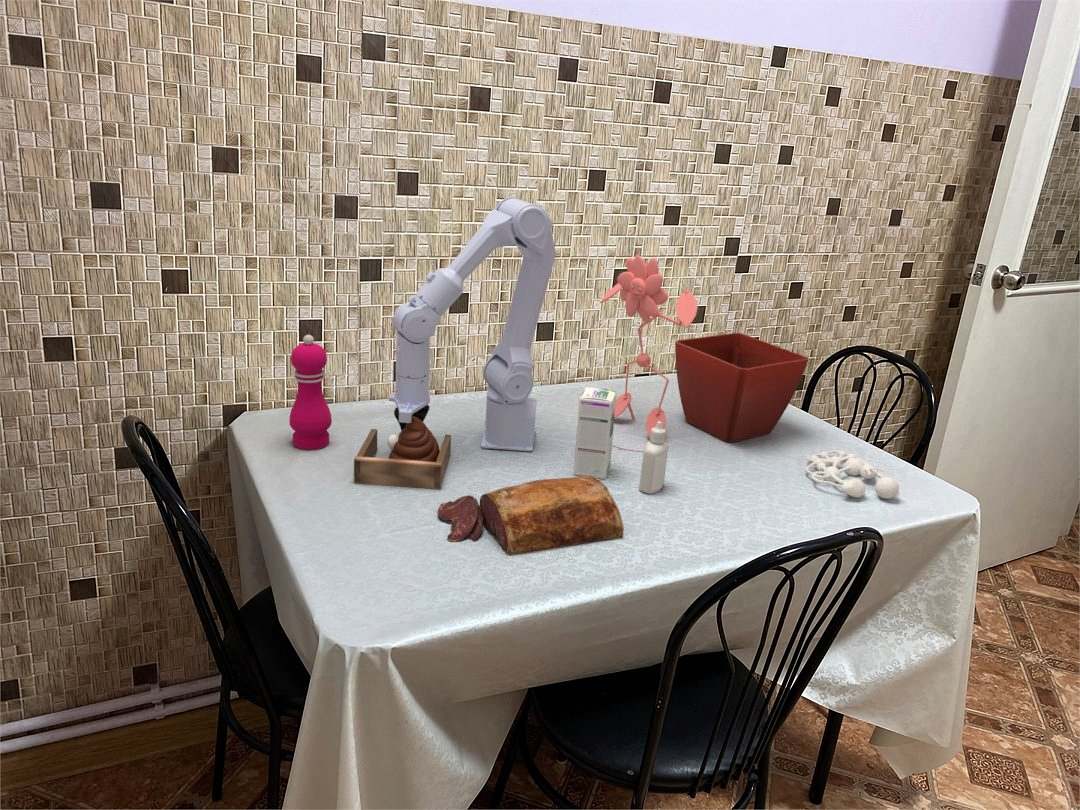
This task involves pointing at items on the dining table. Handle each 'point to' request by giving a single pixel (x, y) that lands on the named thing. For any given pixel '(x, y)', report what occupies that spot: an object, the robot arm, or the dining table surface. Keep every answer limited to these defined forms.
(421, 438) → the poop emoji
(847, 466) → the tangled rod sculpture
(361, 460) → the frame
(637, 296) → the figurine
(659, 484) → the eye dropper bottle
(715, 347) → the plant pot
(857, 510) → the dining table surface
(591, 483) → the cured meat
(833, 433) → the dining table surface
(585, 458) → the syrup box
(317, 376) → the pepper mill
